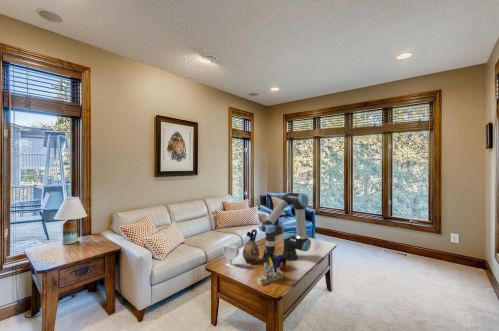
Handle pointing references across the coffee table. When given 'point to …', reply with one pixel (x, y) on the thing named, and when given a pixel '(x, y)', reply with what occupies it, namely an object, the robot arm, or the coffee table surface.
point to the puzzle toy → (280, 262)
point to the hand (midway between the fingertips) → (270, 273)
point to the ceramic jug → (251, 248)
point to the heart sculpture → (230, 253)
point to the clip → (268, 271)
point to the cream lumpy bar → (263, 280)
